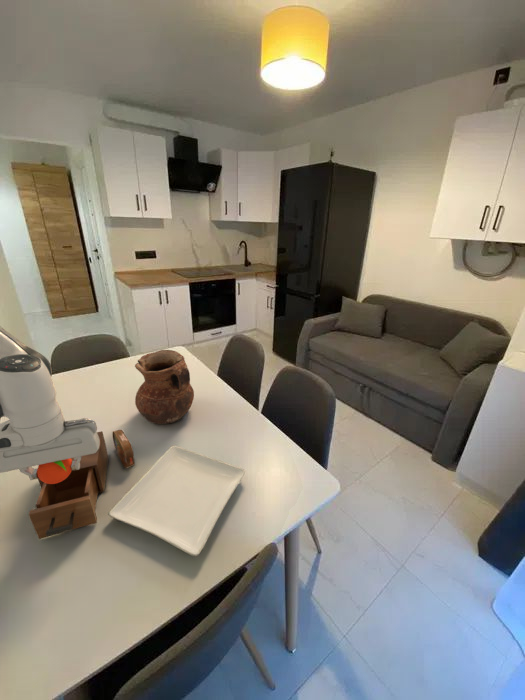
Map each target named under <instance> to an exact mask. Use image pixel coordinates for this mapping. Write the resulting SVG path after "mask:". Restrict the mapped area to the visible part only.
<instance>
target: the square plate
mask: <svg viewBox="0 0 525 700" xmlns="http://www.w3.org/2000/svg"><path fill="white" fill-rule="evenodd" d="M245 473H246V470H245V469H244V468H241V467H239V466H236V465H233V464H231V463H227V462H225V461H221V460H218V459H216V458H212V457H210V456H207V455H205V454H204V455H203V454H201V453H198V452H195V451H192V450H189V449H187V448H185V447H184V448H183V447H180V446H177V445H172V446H170V447H169V448H168V449H167V450H166V451H165V452H164V453H163V454H162V455H161V457H160V458H158V460H157V461H155V463H154V464H152V466H150V468H149V469H148V470H147V471H146V472H145V473H144V474H143V475H142V476H141V477H140V478H139V479H138V481H136V483H135V484H134V485H132V487H130V488H129V490H127V492H126V493H125V494H123V496H122V497H121V498H120V499H119V500H118V501H117V502H116V504H115V505H113V506H112V508H111V509H109V511H108V513H107V515H108V516H109V517H110V518H112V519H115V520H116V521H120V522H121V523H125V524H126V525H129V526H132V527H135V528H136V529H139V530H142V531H144V532H146V533H148V534H151V535H153V536H155V537H156V538H158V539H160V540H162V541H164V542H166V543H168V544H170V545H171V546H173V547H174V548H177V549H178V550H180V551H182V552H184V553H186V554H188V555H189V556H192V557H196V556H199V555H200V553H201V552H202V551H203V549H204V548H205V546H206V544H207V541H208V540H209V537H210V536H211V533H212V531H213V530H214V528H215V526H216V524H217V522H218V520H219V518H220V516H221V515H222V513H223V510H224V509H225V507H226V506H227V504H228V502H229V501H230V499H231V497H232V495H233V494H234V492H235V490H236V489H237V487H238V486H239V484H240V483H241V481H242V479H243V477H244V476H245Z"/></svg>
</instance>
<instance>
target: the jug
mask: <svg viewBox="0 0 525 700" xmlns="http://www.w3.org/2000/svg"><path fill="white" fill-rule="evenodd" d="M134 368H135V369H136V370H137V371H138V372H139V373H140V374H141V375H142V376H143V379H144V381H143V382H142V384H141V385H140V386H139V388H138V389H137V391H136V394H135V399H134V403H135V404H134V405H135V407H136V409H137V411H138V413H139V414H140V415H141V416H142V418H144V419H145V420H146V421H148V422H150V423H153V424H159V425H166V424H172V423H175V422H177V421H179V420H181V418H182V417H183V416H185V415H186V414H187V412H188V411H189V410H190V409H191V407H192V405H193V402H194V399H195V391H194V388H193V386H192V384H191V376H190V375H191V373H190V370H189V368H188V365H187V363H186V360H185V356H184V355H182V354H181V353H179V352H178V351H176V350H173V349H160V350H157V351H155V352H154V351H153V352H149V353H146V354H143V355H142V356H141V357H140V358H139V359H137V362H136V364H135V365H134Z"/></svg>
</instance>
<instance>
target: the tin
mask: <svg viewBox="0 0 525 700" xmlns="http://www.w3.org/2000/svg"><path fill="white" fill-rule="evenodd" d="M111 435H112V441H113V446H114V450H115V452H116V454H117V456H118V458H119V460H120V462H121V463H122V466H123V467H124V468H125V469H128V468H131V467H132V466H135V464H136V463H135V453H134V450H133V446H132V444H131V442H130V440H129V438H128V437H127V435H126V434H125V432H124V431H123V430H122V429H117V430H114V431H113V430H112V434H111Z"/></svg>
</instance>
